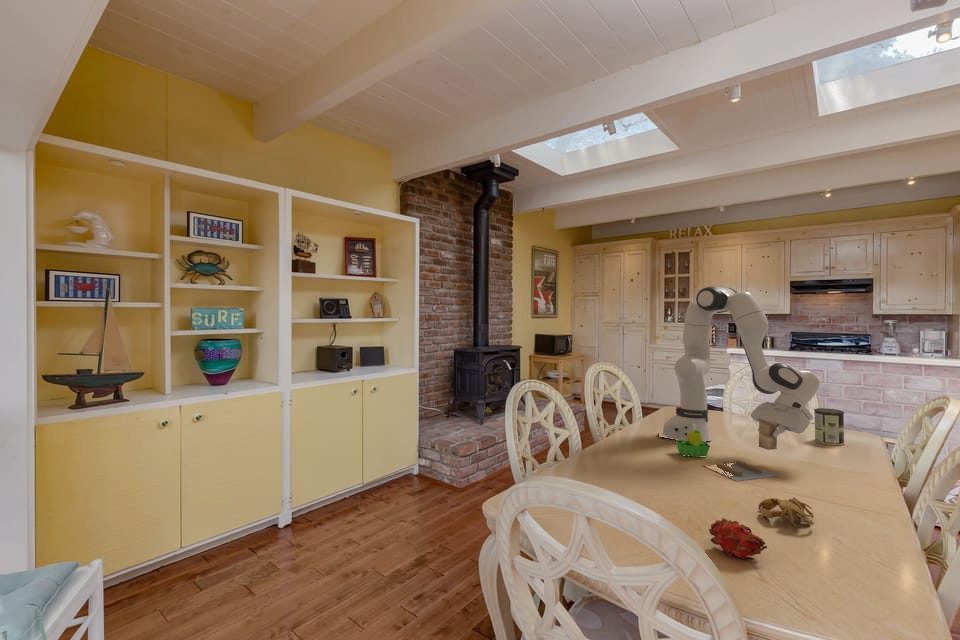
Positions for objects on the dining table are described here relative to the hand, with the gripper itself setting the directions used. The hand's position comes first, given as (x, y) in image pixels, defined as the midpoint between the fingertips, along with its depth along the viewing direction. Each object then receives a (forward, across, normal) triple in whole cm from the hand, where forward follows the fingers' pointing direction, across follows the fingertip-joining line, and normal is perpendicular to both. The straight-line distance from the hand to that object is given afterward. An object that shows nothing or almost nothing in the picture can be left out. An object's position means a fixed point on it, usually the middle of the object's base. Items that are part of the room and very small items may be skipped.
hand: (766, 433), depth 163 cm
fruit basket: (+22, -16, -4) cm, 28 cm away
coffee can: (-28, -16, +45) cm, 55 cm away
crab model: (+32, +37, -15) cm, 51 cm away
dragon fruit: (+51, +48, -34) cm, 78 cm away
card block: (+3, 0, +4) cm, 5 cm away
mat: (+19, +3, -2) cm, 19 cm away
